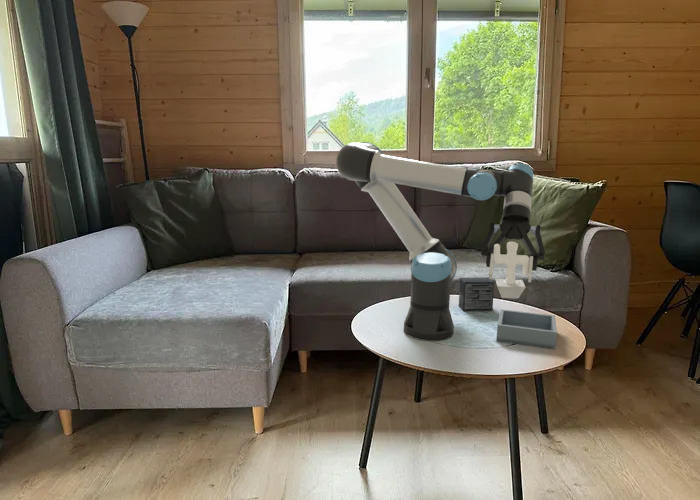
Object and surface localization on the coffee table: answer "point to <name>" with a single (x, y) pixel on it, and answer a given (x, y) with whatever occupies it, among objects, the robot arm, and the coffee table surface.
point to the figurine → (511, 270)
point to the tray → (527, 329)
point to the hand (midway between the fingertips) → (509, 278)
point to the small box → (476, 294)
